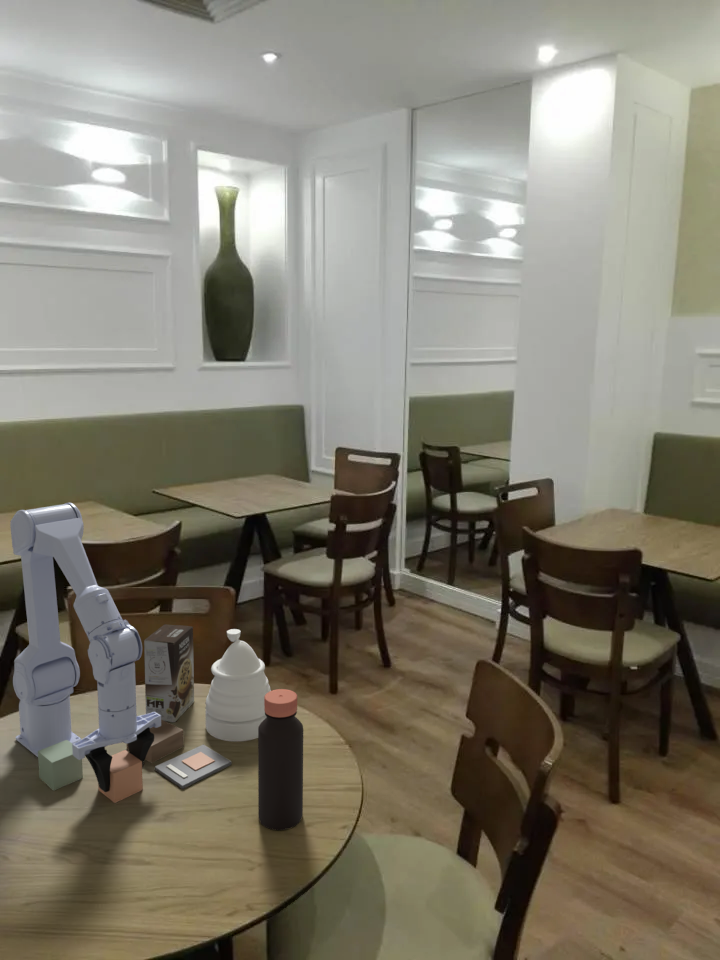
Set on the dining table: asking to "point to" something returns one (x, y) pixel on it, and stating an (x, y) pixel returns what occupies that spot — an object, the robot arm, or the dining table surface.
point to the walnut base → (164, 741)
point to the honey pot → (236, 693)
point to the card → (192, 766)
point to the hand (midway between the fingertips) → (120, 781)
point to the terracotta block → (124, 776)
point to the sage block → (59, 765)
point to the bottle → (280, 762)
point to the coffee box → (169, 671)
